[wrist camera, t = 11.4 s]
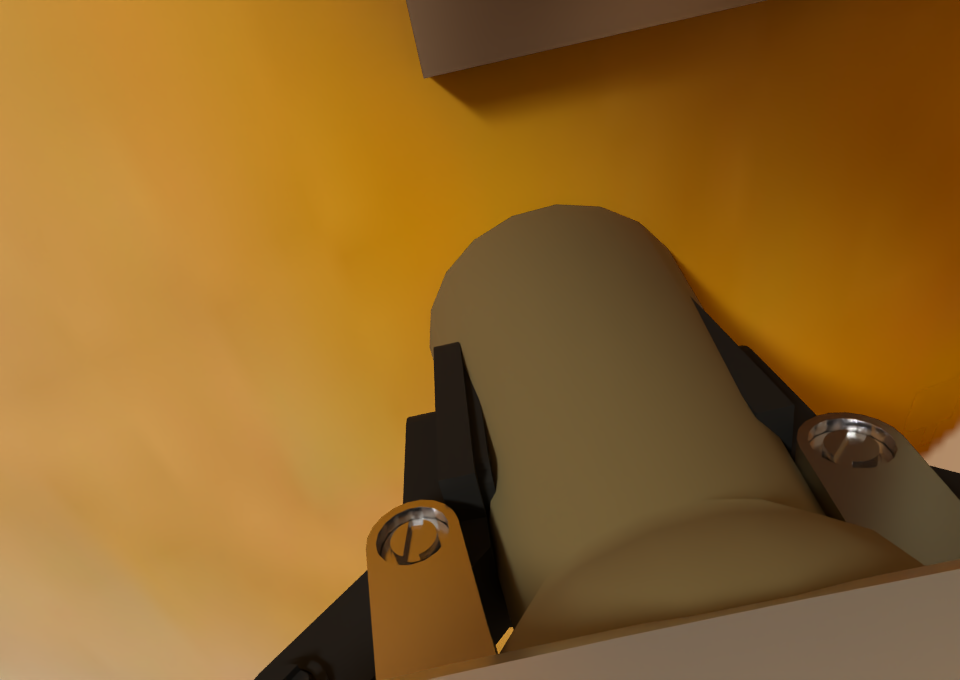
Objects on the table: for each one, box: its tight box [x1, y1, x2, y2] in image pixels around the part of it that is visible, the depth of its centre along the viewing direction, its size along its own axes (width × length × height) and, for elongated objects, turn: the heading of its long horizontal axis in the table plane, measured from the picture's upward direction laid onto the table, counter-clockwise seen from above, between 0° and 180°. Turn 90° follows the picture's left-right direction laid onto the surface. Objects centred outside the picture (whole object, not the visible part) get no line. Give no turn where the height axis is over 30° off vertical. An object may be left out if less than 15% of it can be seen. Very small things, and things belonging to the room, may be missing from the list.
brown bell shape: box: [430, 205, 925, 654], centre depth 9 cm, size 6×6×11 cm
